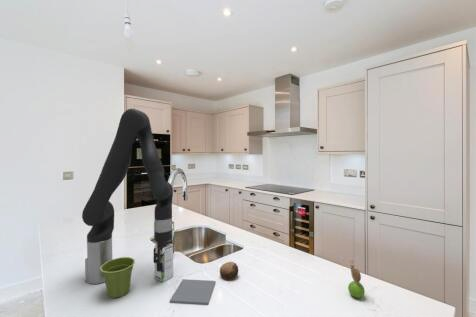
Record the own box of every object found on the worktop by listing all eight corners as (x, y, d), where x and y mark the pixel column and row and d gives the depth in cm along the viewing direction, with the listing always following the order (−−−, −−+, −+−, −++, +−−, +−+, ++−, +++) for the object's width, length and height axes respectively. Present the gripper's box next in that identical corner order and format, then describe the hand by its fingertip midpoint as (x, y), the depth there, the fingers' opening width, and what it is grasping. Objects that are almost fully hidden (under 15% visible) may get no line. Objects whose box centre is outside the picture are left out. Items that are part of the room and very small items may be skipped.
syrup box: (153, 278, 98) (153, 245, 98) (165, 272, 103) (164, 240, 103) (162, 282, 95) (162, 248, 95) (173, 276, 100) (173, 243, 100)
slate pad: (169, 302, 82) (169, 300, 82) (182, 281, 96) (182, 279, 96) (208, 305, 81) (208, 302, 81) (215, 282, 95) (215, 280, 95)
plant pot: (110, 284, 94) (109, 257, 94) (139, 283, 95) (139, 256, 95) (94, 303, 82) (93, 272, 82) (128, 302, 83) (127, 271, 83)
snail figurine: (357, 290, 89) (358, 259, 89) (367, 301, 83) (368, 268, 83) (344, 290, 89) (344, 260, 89) (353, 301, 83) (353, 268, 83)
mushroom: (230, 262, 106) (228, 255, 102) (242, 273, 102) (241, 266, 98) (217, 275, 102) (215, 268, 98) (229, 288, 97) (228, 281, 94)
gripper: (161, 223, 106) (162, 258, 107) (146, 234, 92) (147, 274, 92) (177, 223, 106) (178, 258, 106) (164, 234, 91) (165, 275, 92)
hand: (163, 266), depth 99 cm, fingers closed on syrup box, 7 cm apart
